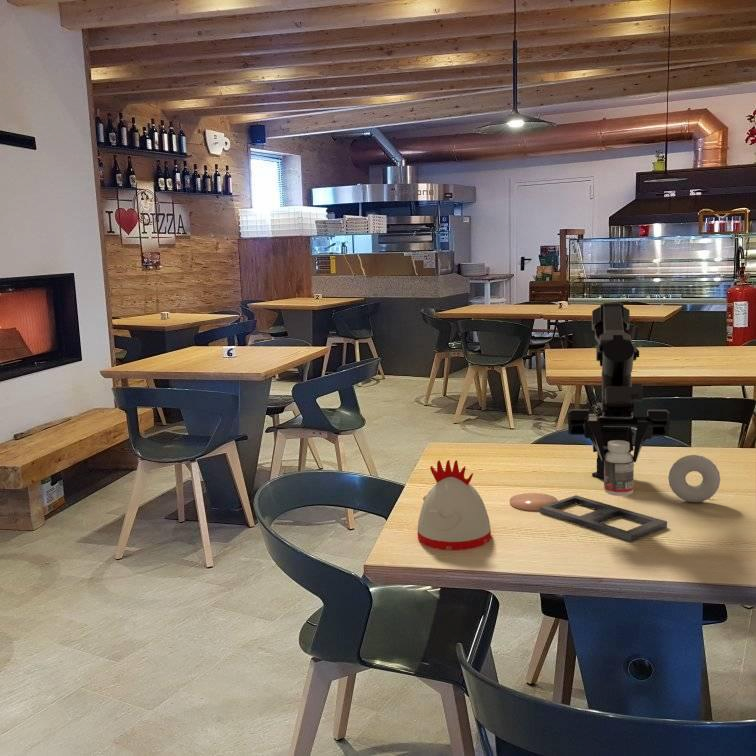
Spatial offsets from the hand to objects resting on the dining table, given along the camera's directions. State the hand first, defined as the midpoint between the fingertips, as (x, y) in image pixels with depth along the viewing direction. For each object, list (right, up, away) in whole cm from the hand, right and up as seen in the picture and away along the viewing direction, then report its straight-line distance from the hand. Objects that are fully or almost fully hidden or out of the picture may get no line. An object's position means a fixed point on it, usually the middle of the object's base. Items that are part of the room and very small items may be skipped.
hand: (618, 460), depth 150 cm
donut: (+20, -10, +15) cm, 27 cm away
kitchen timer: (-31, -15, +2) cm, 34 cm away
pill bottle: (+1, -6, +2) cm, 7 cm away
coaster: (-12, -11, +19) cm, 25 cm away
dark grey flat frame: (-1, -12, +7) cm, 14 cm away
